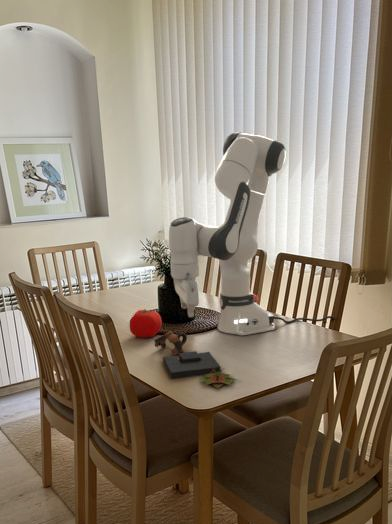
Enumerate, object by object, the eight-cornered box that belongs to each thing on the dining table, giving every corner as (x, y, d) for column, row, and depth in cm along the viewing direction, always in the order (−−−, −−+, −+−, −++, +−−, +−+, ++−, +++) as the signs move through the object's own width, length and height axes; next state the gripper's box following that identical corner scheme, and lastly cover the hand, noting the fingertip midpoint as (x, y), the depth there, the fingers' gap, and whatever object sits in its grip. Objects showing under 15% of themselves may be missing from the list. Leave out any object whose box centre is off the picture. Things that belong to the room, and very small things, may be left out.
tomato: (126, 334, 212) (124, 308, 208) (156, 329, 217) (155, 304, 214) (136, 342, 203) (135, 316, 199) (168, 337, 208) (166, 311, 204)
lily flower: (217, 370, 176) (217, 357, 174) (245, 381, 168) (245, 367, 166) (190, 381, 168) (189, 368, 167) (217, 393, 160) (217, 379, 159)
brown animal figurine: (168, 360, 187) (156, 338, 187) (158, 363, 196) (147, 343, 195) (195, 344, 192) (184, 323, 192) (185, 348, 201) (174, 328, 200)
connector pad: (196, 359, 186) (196, 351, 185) (200, 365, 180) (200, 357, 179) (179, 361, 185) (178, 353, 183) (182, 367, 179) (182, 359, 178)
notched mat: (209, 357, 187) (209, 351, 187) (220, 372, 175) (220, 366, 174) (163, 362, 184) (163, 356, 183) (171, 378, 171) (171, 372, 170)
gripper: (202, 276, 164) (204, 320, 169) (187, 263, 183) (190, 303, 188) (182, 279, 163) (184, 323, 168) (169, 265, 181) (172, 305, 186)
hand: (187, 312), depth 178 cm, fingers open, 8 cm apart
